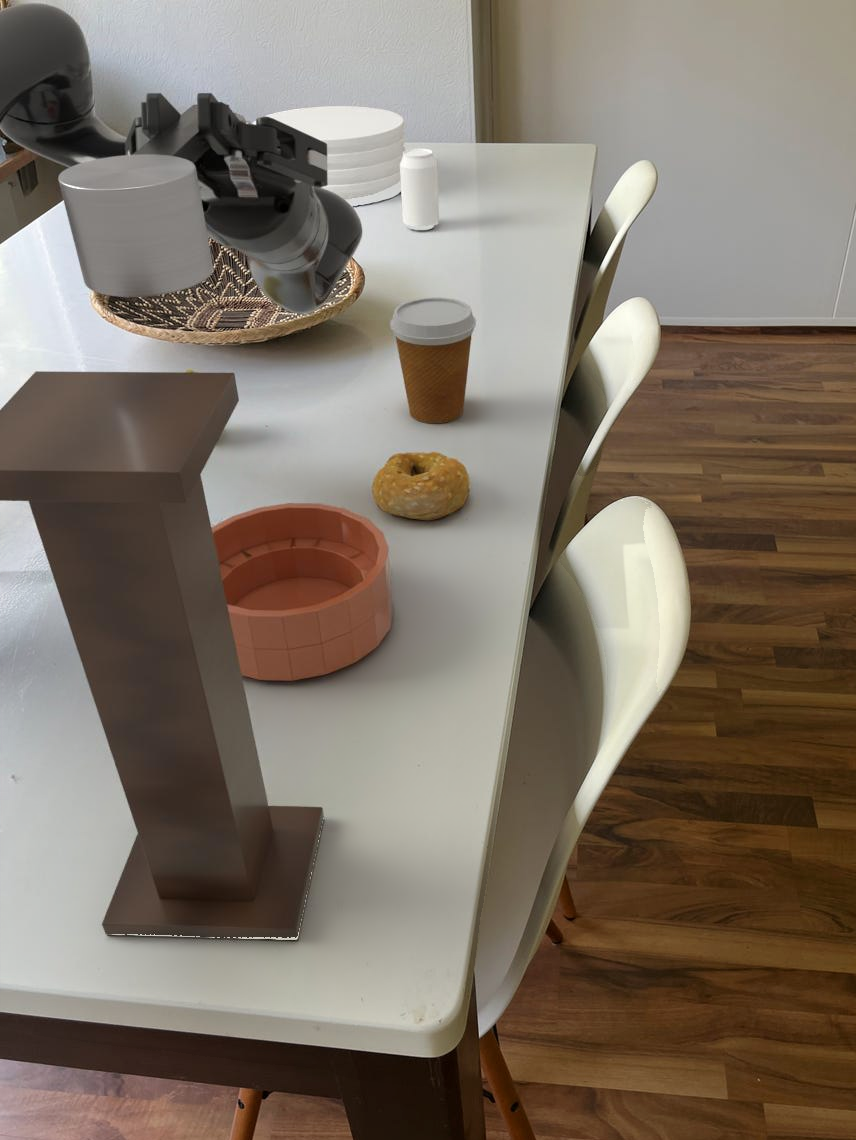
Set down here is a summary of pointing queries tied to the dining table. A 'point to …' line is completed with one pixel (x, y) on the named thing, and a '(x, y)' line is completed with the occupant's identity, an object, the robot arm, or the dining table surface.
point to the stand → (159, 644)
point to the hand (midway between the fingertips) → (178, 112)
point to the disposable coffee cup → (434, 355)
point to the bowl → (303, 588)
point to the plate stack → (353, 145)
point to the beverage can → (419, 187)
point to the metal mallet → (141, 215)
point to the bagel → (421, 485)
